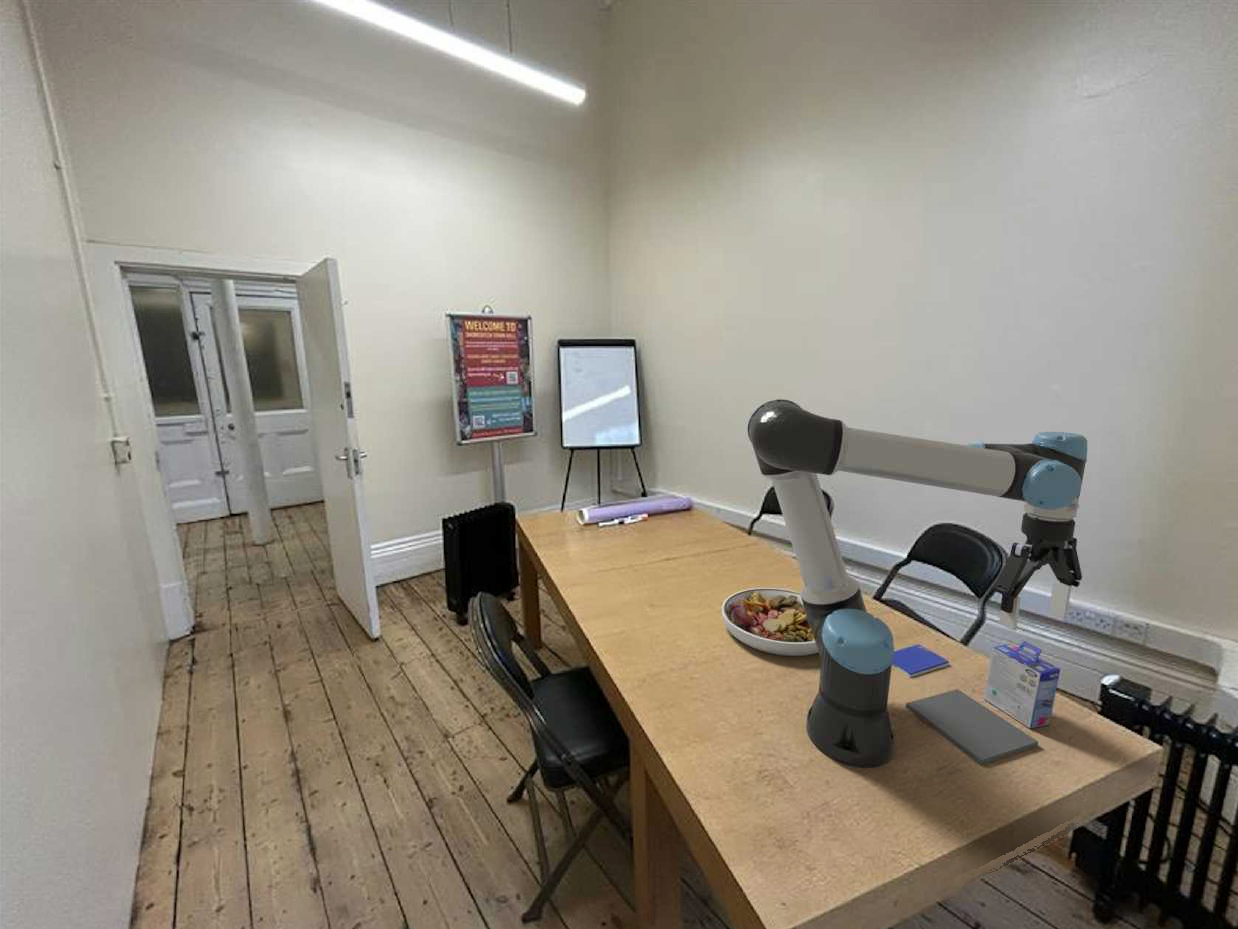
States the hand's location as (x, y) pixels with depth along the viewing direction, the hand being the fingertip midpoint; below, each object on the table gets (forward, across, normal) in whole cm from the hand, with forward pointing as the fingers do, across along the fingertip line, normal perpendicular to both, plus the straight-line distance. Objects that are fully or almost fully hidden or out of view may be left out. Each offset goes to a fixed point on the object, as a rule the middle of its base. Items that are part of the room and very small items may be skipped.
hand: (1032, 620), depth 99 cm
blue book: (+21, -5, +20) cm, 29 cm away
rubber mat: (+20, -13, 0) cm, 24 cm away
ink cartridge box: (+20, 0, 0) cm, 20 cm away
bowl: (+20, -26, +43) cm, 54 cm away
